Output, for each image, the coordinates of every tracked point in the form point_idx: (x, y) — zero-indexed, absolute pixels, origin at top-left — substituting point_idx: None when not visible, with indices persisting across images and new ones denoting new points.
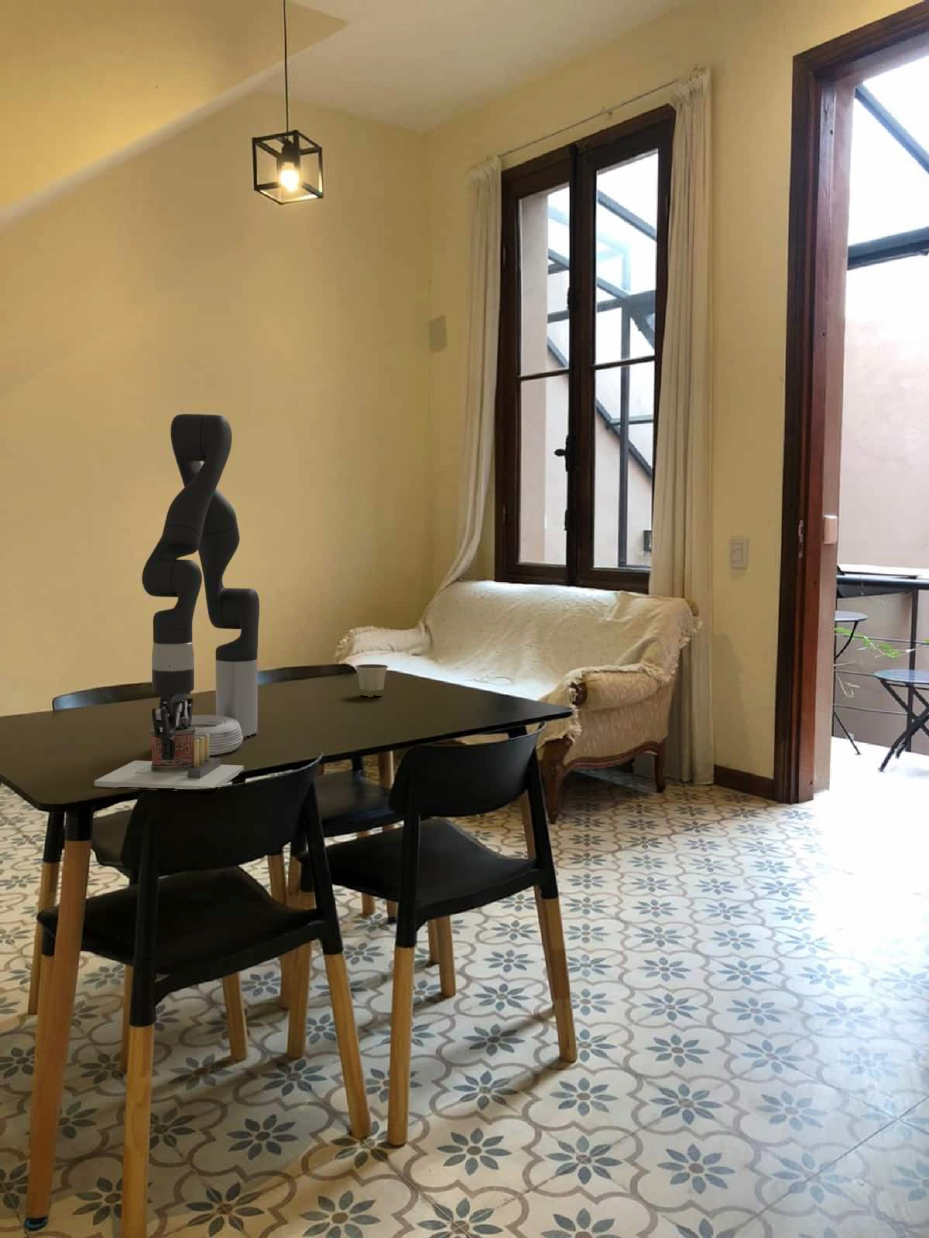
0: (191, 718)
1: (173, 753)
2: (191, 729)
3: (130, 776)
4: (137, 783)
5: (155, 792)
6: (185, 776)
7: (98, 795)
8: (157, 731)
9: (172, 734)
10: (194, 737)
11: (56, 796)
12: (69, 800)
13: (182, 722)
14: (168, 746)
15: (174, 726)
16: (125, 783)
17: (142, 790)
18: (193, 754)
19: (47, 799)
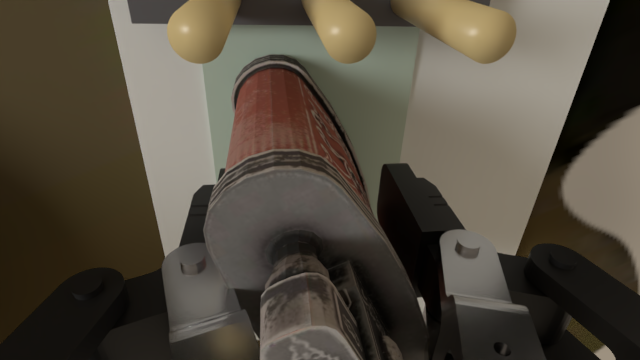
0: (3, 351)
1: (411, 176)
2: (323, 190)
3: None
4: (536, 195)
5: (595, 95)
6: (429, 43)
7: (595, 252)
8: (578, 350)
9: (493, 261)
10: (268, 136)
11: (582, 332)
12: (634, 291)
13: (353, 318)
14: (456, 222)
15: (523, 307)
16: (519, 234)
17: (554, 156)
18: (286, 86)
19: None
